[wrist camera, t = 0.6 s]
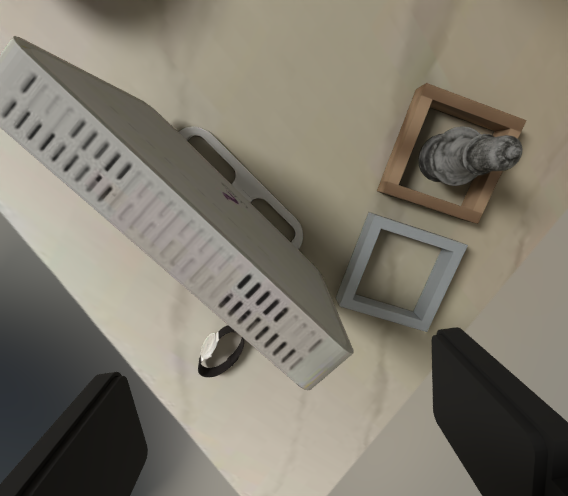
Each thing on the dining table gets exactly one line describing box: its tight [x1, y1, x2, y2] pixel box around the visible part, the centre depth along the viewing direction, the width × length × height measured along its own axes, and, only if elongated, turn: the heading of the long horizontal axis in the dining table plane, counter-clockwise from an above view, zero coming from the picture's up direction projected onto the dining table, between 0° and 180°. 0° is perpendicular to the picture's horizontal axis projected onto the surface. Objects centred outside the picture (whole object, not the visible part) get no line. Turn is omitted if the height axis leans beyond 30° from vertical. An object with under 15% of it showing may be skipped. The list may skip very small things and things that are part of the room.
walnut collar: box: [377, 83, 526, 224], centre depth 35 cm, size 11×11×2 cm
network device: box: [0, 36, 353, 390], centre depth 27 cm, size 26×9×20 cm, turn 45°
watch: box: [198, 325, 244, 377], centre depth 40 cm, size 8×5×4 cm, turn 143°
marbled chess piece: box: [419, 127, 522, 186], centre depth 30 cm, size 6×6×12 cm
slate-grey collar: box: [336, 212, 468, 332], centre depth 38 cm, size 11×11×2 cm
